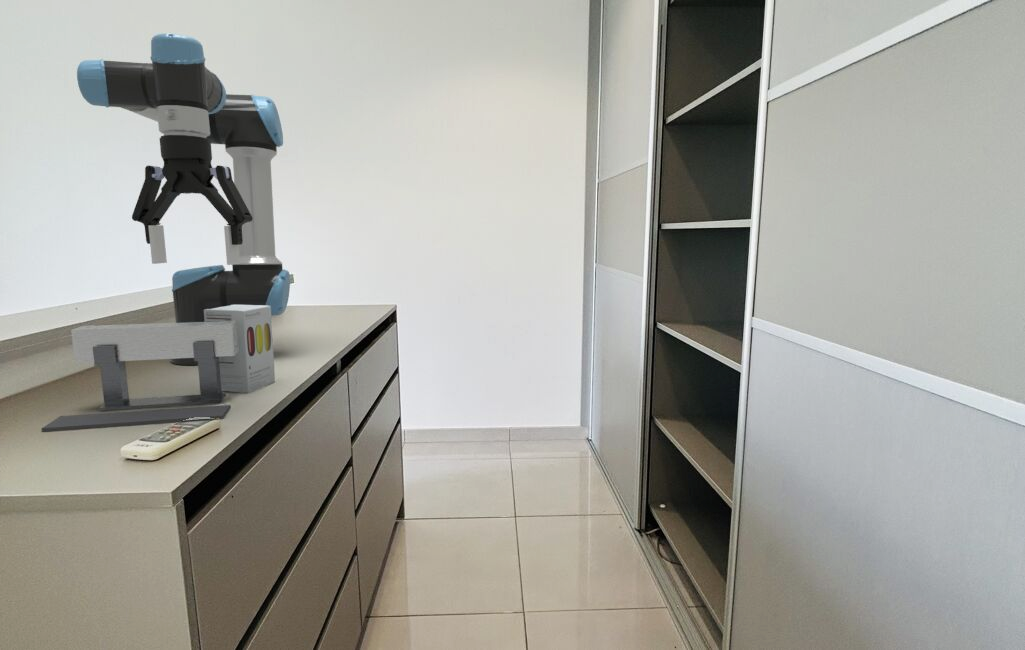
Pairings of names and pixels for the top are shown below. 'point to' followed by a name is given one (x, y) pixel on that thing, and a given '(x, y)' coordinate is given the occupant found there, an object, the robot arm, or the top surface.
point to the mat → (134, 418)
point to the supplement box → (246, 347)
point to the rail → (155, 340)
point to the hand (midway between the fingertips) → (196, 263)
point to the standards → (119, 397)
